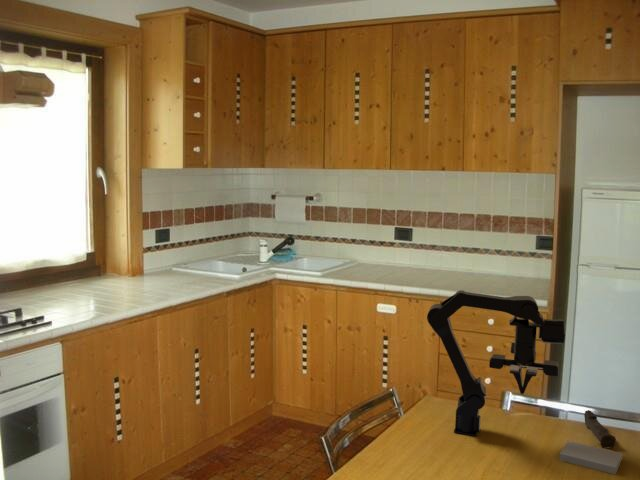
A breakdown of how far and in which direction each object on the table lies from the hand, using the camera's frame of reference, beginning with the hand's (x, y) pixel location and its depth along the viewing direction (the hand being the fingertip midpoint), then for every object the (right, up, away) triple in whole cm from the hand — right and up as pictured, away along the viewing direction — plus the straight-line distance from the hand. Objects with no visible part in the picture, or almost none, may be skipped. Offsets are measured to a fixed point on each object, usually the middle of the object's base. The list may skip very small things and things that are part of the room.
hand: (522, 393), depth 193 cm
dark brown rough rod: (+23, -13, +5) cm, 27 cm away
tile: (+9, -14, -9) cm, 18 cm away
